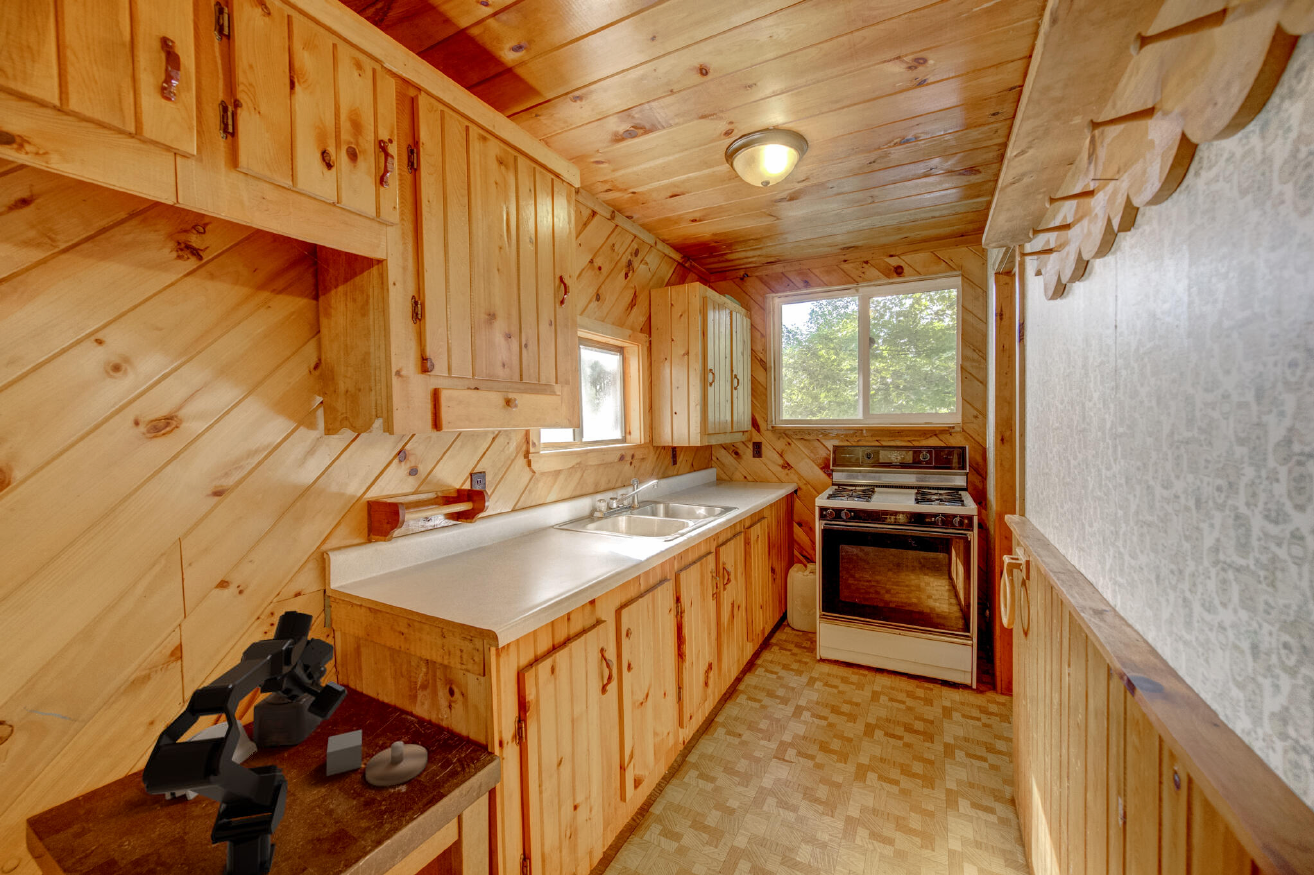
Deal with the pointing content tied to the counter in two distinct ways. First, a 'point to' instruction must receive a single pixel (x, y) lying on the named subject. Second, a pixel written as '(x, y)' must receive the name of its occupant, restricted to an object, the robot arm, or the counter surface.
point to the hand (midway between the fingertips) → (308, 696)
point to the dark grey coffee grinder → (284, 719)
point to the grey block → (344, 752)
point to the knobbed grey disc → (396, 764)
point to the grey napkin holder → (219, 730)
